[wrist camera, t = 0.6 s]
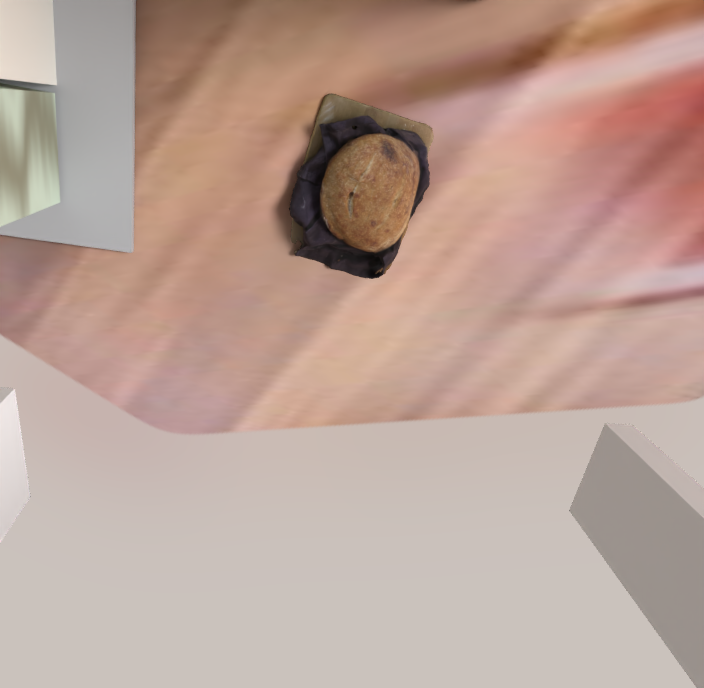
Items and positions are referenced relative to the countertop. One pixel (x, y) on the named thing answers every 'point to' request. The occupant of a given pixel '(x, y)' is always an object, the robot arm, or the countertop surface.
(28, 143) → the pale green block
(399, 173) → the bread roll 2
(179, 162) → the countertop surface
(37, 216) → the block
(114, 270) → the countertop surface
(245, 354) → the countertop surface
